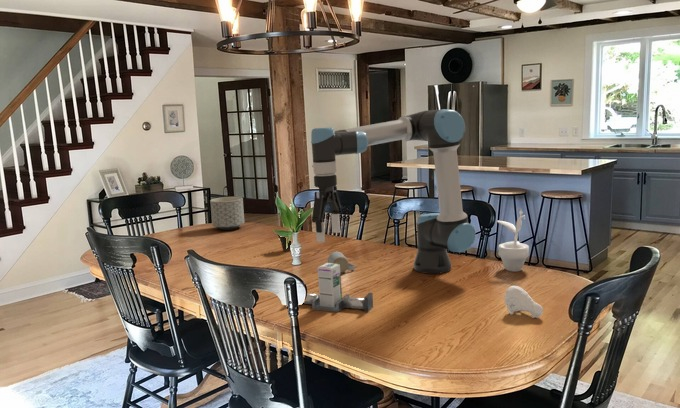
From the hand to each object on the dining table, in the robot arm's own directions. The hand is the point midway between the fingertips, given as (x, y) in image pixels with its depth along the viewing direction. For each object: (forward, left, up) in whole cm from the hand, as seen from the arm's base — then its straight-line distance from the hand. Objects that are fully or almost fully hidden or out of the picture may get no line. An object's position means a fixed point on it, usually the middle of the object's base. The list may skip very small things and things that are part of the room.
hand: (328, 237), depth 181 cm
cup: (+51, -64, -24) cm, 86 cm away
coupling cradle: (0, +2, -24) cm, 24 cm away
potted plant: (-55, -55, -24) cm, 82 cm away
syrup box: (0, +2, -24) cm, 24 cm away
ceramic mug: (+12, -39, -24) cm, 47 cm away
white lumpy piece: (-62, -7, -24) cm, 67 cm away
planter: (+112, -105, -24) cm, 156 cm away
